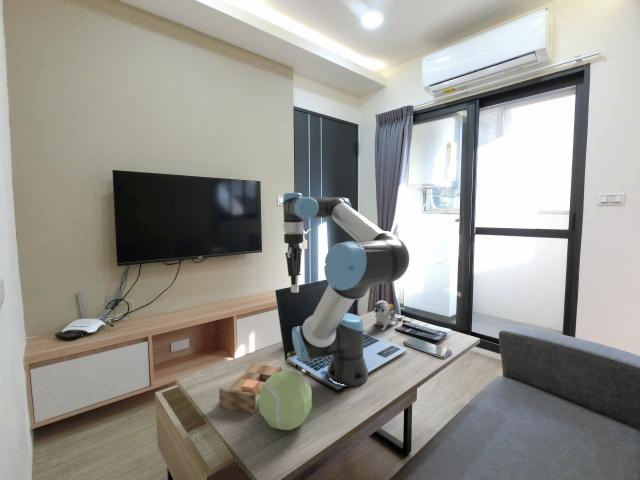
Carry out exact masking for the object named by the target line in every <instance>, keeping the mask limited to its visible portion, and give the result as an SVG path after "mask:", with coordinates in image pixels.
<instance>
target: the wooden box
mask: <svg viewBox="0 0 640 480" xmlns="http://www.w3.org/2000/svg"><path fill="white" fill-rule="evenodd" d="M281 371H283V368H282V367H281V366H274V365H265V364H259V363H252V364H250V366H249V367H248V368H247V369H246V370H245V372H243V374H242V375H240V377H239V378H238V379H236V381H234V383H233V384H232V385H231V386H230V387H229V388H224V387H223V388H222V387H220V388H219V390H218V395H219V396H218V397H219V408H220V409H225V410H232V411H237V412H242V413H249V414H253V415H254V414H256V412H258V410H259V396H260V391H261V389H262V386H263V384H264V383H265V382H266V380H267V379H268V378H270V377H271V376H272V375H273V374H275V373H278V372H281ZM248 379H249V380H256V381H259V394H258V395H257V396H256V398H255V393H249V392H243V391H242V385H243V384H244V383H245V382H246V381H247V380H248Z"/></svg>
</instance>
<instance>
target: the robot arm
mask: <svg viewBox="0 0 640 480" xmlns="http://www.w3.org/2000/svg"><path fill="white" fill-rule="evenodd" d="M282 198H283V199H282V200H283V201H282V207H283V208H282V209H283V224H282V226H283V232H284V234H283V241H284V244H287V245H288V246H287V252H285V259H286V265H287V275H288V277H290V293H295V294H296V293H299V292H300V291H299V290H300V287H299V283H300V282H299V276H301V275H302V274H301V267H302V266H301V265H302V253H303V252H302V251H303V248H301V247H300V244H302V243H304V233H303V232H304V220H305V219H306V220H308V219H326V218H327V219H329V218H330V219H331V220H333V221H334V222H335V223H336V224H337V225H338V226H339V227H340V228H342V229H343V230H344V231H345V232H346V233H347V234H348V235H350V236H351V238H353V239H354V240H355V241H354V240H349V241H344V242H339V243H336V244H334V245H333V246H332V247H331V248H330V249H329V250H328V251H327V253H326V256H325V259H324V264H325V265H324V277H325V279H326V281H327V283H328V285H327V287H326V289H325V291H324V292H323V294H322V296H321V299H320V301H319V302H318V305H316V308H315V310H314V312H313V313H312V315H310V316H308V317H307V318H306V319H305V320H304V321H305V322H304V323H303V325H302V326H297V327H295V326H294V327H293V328H292V330H291V336H292V338H291V340H292V345H293V348H294V351H295V354H296V356H297V358H298V360H299V361H301V362H308V361H312V360H315V359H319V358H323V357H327V356H328V357H329V356H331V357H330V359H329V363H328V366H327V369H326V370H327V371H326V372H327V374H328V376H329V378H331V379H332V380H333V381H335V382H337V383H340V384H344V385H346V388H347V387H348V388H350V387H351V388H352V387H354V388H355V387H357V386H361V385H363V384H365V383H366V382H367V380H368V378H369V371H368V367H367V364H366V360H365V358H364V357H365V356H364V332H365V331H364V330H365V329H364V321H363V319H362V318H361V316H359V315H356V314H353V313H349V310H350V308H351V307H352V306H353V304H354V303H355V300H357V301H358V300H360V299H362V298H364V297H365V295H366V294H367V293H368V291H369V290H370V289H371V287H372V286H375V285H384V284H390V283H393V282H396V281H397V280H399V279H401V278H402V277H403V276H404V275H405V274H406V272H407V270H408V268H409V265H410V254H409V249H408V247H407V246H406V244H405V243H404V242H403V241H402V239H400V238H399V237H398V236H396V235H395V234H394V233H393V232H391V231H384V230H382V229H381V228H380V227H378V226H377V225H376V224H375V223H373V222H372V221H370V220H368V219H367V218H366V217H364V216H363V215H362V214H361V213H359V212H358V211H356V209H354V208H352V204H351V202H350V201H351V200H350V199H349V198H347V197H340V196H336V197H334V196H331V197H329V196H327V197H323V196H322V197H320V196H319V197H316V196H315V197H314V196H312V197H310V196H303V194H302V193H301V192H286V193H284V194H283V196H282ZM328 376H327V377H328Z"/></svg>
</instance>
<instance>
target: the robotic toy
mask: <svg viewBox="0 0 640 480" xmlns="http://www.w3.org/2000/svg"><path fill="white" fill-rule="evenodd" d="M395 307H396V308H398V306H396V305H394V304H393V303H388V302H387V301H386V300H379V301H377V302H374V303H373V308H374V309H373V314H375V315H374V317H375V322H374V323H373V326H374V327H375V326H377V325H381V326H382V328H381V329H380V330H381V331H385V330H386V329H387V326H390V325H391V323H392V322H395V324H396V325H399V320H398V318H396V317H397V316H396V313H397V311H396V310H395V309H394V308H395Z"/></svg>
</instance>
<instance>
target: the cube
mask: <svg viewBox="0 0 640 480" xmlns="http://www.w3.org/2000/svg"><path fill="white" fill-rule="evenodd" d="M242 391H243V392H249V393H255V398H256V396H257V395H258V394H259V381H256V380H249V379H248V380H247V381H246V382H245V383H244V384H243V385H242Z"/></svg>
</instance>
